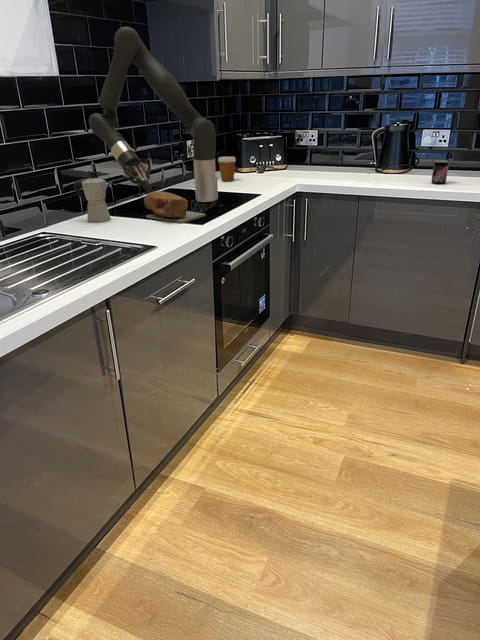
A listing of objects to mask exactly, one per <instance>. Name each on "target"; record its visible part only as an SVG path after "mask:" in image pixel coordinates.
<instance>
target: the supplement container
mask: <svg viewBox="0 0 480 640" xmlns="http://www.w3.org/2000/svg"><path fill="white" fill-rule="evenodd" d="M449 165H450V160H443V159H442V160H441V159H440V160H438V159H437V160H434V161H433V168H432V175H431V181H430V182H431V184H433V185H442V186H443V185H445V184H447V183H446V182H447V179H448V178H447V177H448V170H449Z"/></svg>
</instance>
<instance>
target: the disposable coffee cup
mask: <svg viewBox="0 0 480 640" xmlns="http://www.w3.org/2000/svg"><path fill="white" fill-rule="evenodd" d="M217 161H218V162H217V163H218V166H219V172H220V178H221V182H223V183H232V182H234V179H235V169H236V166H235V165H236V161H237V159H236V156H218V159H217Z"/></svg>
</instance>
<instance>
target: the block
mask: <svg viewBox="0 0 480 640" xmlns="http://www.w3.org/2000/svg"><path fill="white" fill-rule="evenodd" d="M143 204H144V207H145V208H146V209H147V210H152V212H153V214H154V213H156V214H158V215H161V216H167V217H184V216H186V211H188V206H189V204H188V200H187V199H186V198H183V196H180V195H177V194H174V193H171V192H169V191H167V192H166V191H156V190H155V191H151V192H150V191H149V192H148V193H146V194H145V195H144V198H143Z"/></svg>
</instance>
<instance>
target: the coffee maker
mask: <svg viewBox="0 0 480 640" xmlns="http://www.w3.org/2000/svg"><path fill="white" fill-rule="evenodd" d="M88 173H89V177H90V178H88V179H87V178H84V179H79V180H76V181H74V184H73V189H74V190H75V191H76V193H77V195H78V196H79V198H80V199H81V200H82V202H85V201H87V222H88V223H91V224H99V223H100V224H101V223H107V222H108V221H109V222H110V221H111V220H112V218H111V215H110V211H109V209H108V205H107V202H106V200H105V199H106V191H107V188H108V186H109V184H110V183H109V182H107V181H106V180H105V179H101V178H97V177H96V171H94V170H93V171H88ZM79 187H80V188H81V189H83V193H84V195H83V193H82V191H81V190H80V189H79Z"/></svg>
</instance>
